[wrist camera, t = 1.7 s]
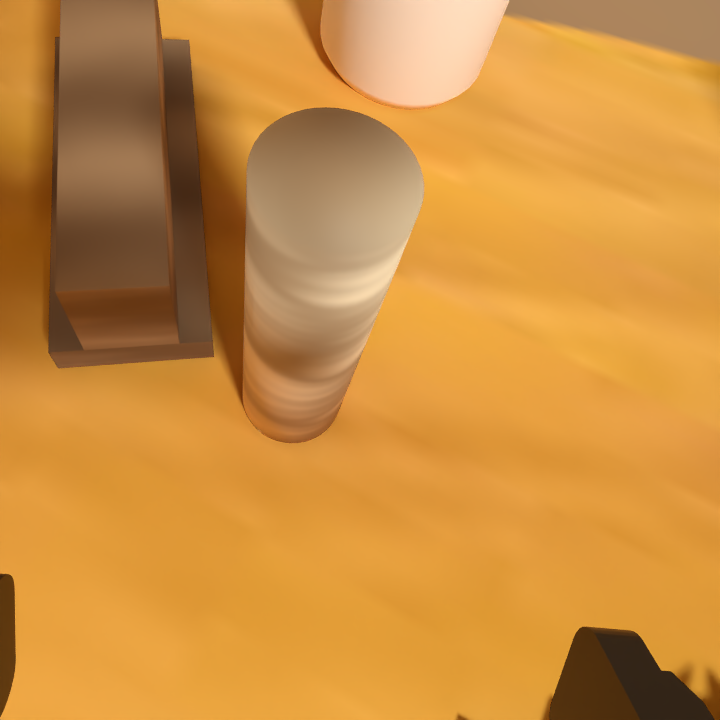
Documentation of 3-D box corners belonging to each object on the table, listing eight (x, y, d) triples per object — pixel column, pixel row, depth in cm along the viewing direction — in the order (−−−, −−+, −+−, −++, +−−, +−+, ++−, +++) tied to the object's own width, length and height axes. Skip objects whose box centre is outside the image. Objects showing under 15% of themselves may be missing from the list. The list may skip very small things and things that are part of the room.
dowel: (333, 348, 29) (407, 107, 16) (346, 437, 28) (439, 249, 15) (238, 355, 28) (239, 107, 16) (246, 447, 27) (255, 257, 14)
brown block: (62, 62, 33) (28, -56, 27) (191, 64, 34) (182, -49, 29) (57, 368, 27) (12, 293, 21) (213, 356, 28) (208, 284, 23)
